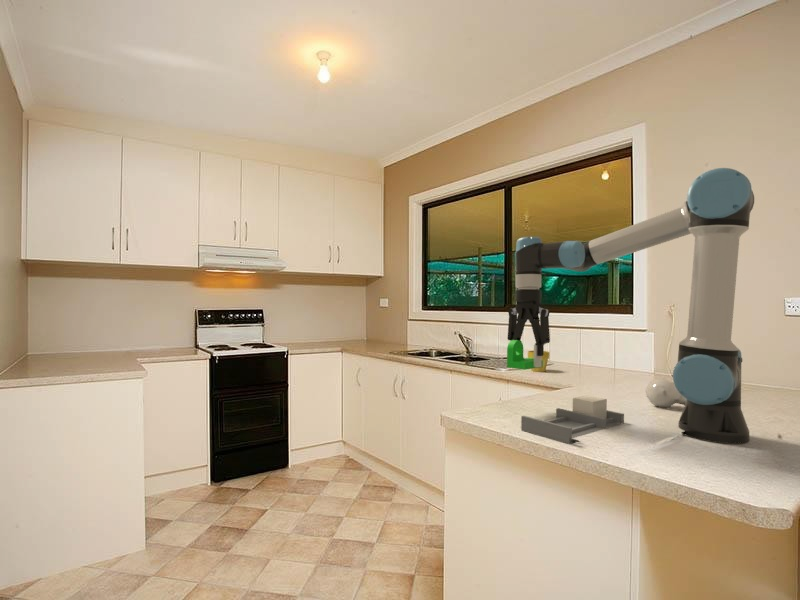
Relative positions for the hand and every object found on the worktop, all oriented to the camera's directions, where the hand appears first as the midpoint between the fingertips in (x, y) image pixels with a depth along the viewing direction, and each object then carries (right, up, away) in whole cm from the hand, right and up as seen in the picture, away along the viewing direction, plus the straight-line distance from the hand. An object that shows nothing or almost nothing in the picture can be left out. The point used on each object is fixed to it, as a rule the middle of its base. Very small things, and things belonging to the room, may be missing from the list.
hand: (527, 365), depth 137 cm
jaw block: (+14, -14, -11) cm, 22 cm away
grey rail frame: (+8, -15, -15) cm, 23 cm away
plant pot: (+30, -16, +89) cm, 96 cm away
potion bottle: (+50, -16, +12) cm, 54 cm away
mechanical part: (0, -1, 0) cm, 1 cm away
